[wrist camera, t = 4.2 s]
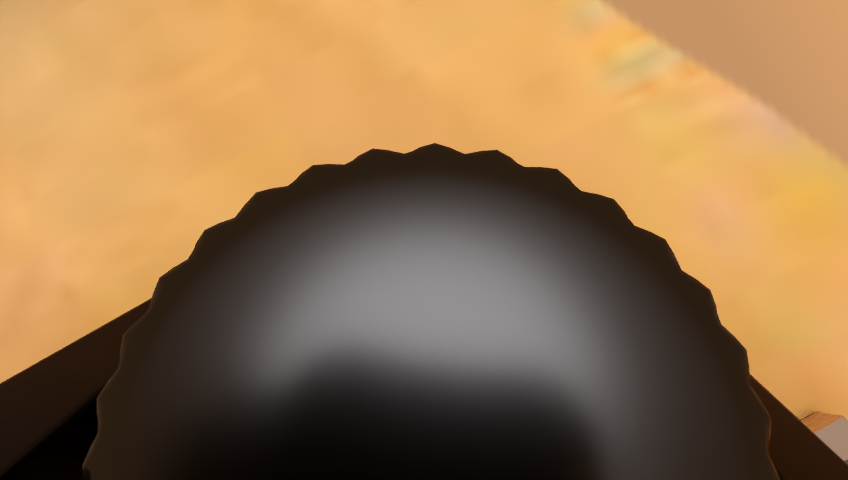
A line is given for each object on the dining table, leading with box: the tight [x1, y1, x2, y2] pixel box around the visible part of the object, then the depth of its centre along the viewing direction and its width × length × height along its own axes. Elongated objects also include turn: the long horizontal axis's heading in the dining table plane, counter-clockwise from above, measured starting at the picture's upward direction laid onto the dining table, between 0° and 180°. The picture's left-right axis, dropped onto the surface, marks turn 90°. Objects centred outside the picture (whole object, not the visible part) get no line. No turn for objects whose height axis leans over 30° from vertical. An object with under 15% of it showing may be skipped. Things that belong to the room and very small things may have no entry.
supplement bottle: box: [82, 143, 780, 480], centre depth 10 cm, size 7×7×12 cm
